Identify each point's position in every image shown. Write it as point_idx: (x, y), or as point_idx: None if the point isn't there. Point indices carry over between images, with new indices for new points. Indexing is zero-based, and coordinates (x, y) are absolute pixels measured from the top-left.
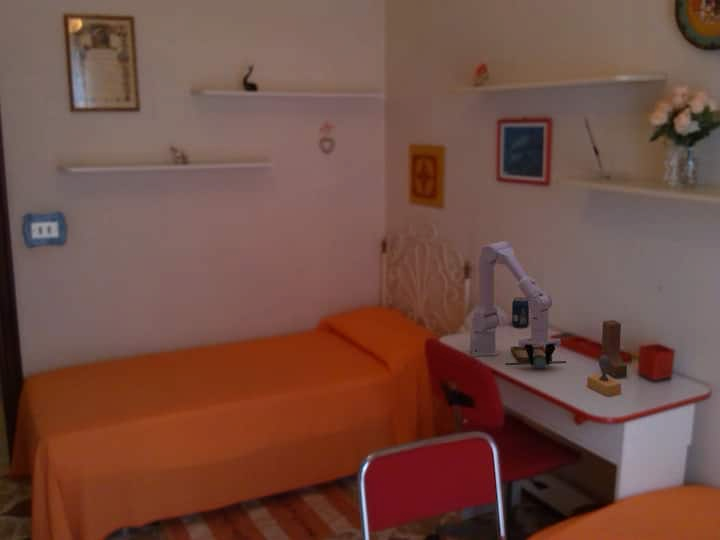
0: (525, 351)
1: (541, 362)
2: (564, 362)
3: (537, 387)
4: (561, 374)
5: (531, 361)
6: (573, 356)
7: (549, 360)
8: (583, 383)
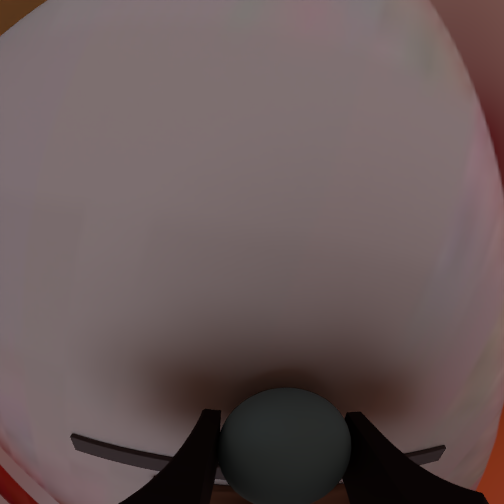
0: None
1: (289, 416)
2: (82, 439)
3: (428, 13)
4: (128, 247)
5: (376, 433)
6: (48, 472)
7: (192, 435)
8: (45, 37)
